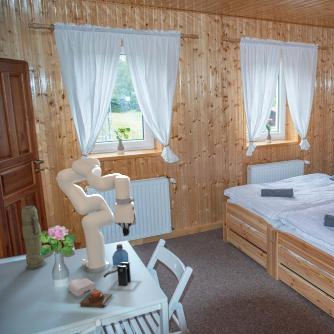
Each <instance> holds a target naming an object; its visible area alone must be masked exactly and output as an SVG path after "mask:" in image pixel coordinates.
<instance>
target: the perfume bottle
mask: <svg viewBox="0 0 334 334" xmlns="http://www.w3.org/2000/svg"><path fill="white" fill-rule="evenodd" d="M115 248H116V250H115V251H114V253H113V254H112V256H111V257H112V258H111V259H112V260H111V261H112V266H121V262H129V263H130V261H129V260H130V259H129V252H128V251H127V250H126V249H124V247H123V244H122V243H119V244H117V245H116V247H115Z"/></svg>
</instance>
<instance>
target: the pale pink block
mask: <svg viewBox="0 0 334 334" xmlns="http://www.w3.org/2000/svg"><path fill="white" fill-rule="evenodd" d="M96 287H97V285H96V283H95V282H93V281H91V280H90V279H89V278H87V277H82V278H81V279H80V278H79V279H73V280H70V282H69V283H68V291H69V292H71V293H72V294H73V295H75V296H77V297H79V296H81V295H85V293H86V292H92V291H94V290H97V288H96Z"/></svg>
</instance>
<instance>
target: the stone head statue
mask: <svg viewBox="0 0 334 334" xmlns="http://www.w3.org/2000/svg"><path fill="white" fill-rule="evenodd" d="M20 215H21V221H22V228H21V230H22V237H23V239H24V245H25V252H26V254H25V260H26V264H27V269H29V270H35V269H39V268H41V267H44V266H45V264H46V263H45V257H44V258H43V257H42V256H41V255H40V249H41V247H42V248H43V244H42V240H41V241H40V240H39V235H40V234H41V235H42V230H41V225H40V222H39V217H38V216H39V215H38V209H37V208H36V206H35V205H31V204H30V205H25V206H23V207H22V209H21V214H20Z"/></svg>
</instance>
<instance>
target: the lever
mask: <svg viewBox="0 0 334 334" xmlns="http://www.w3.org/2000/svg"><path fill="white" fill-rule="evenodd" d="M121 266H126V269H127V268H128V267H127V265H126V264H124V265H121ZM114 273H118V272H117V268H116V269H115V268H114V269H113V270H108V271H106V272H105V273H104V275H103V278H106V277H107V276H109V275H112V274H114Z"/></svg>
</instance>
